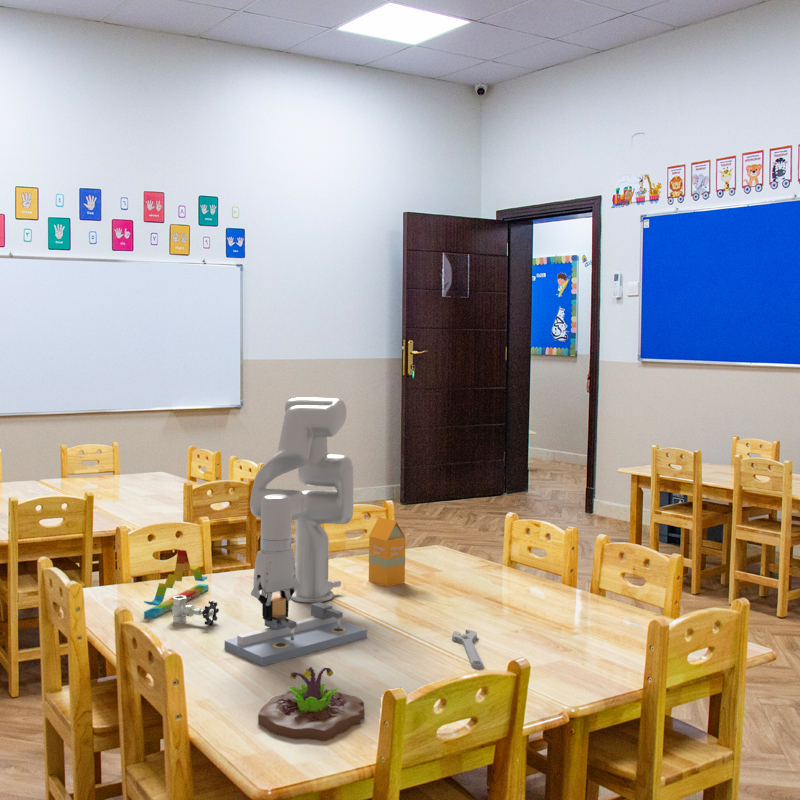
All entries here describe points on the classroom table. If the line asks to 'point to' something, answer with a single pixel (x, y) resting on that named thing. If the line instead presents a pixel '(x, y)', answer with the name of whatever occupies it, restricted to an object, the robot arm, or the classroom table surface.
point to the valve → (192, 611)
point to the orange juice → (386, 553)
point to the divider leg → (280, 616)
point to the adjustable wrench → (469, 647)
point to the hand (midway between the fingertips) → (275, 617)
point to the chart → (167, 605)
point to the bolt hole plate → (296, 637)
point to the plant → (311, 710)
